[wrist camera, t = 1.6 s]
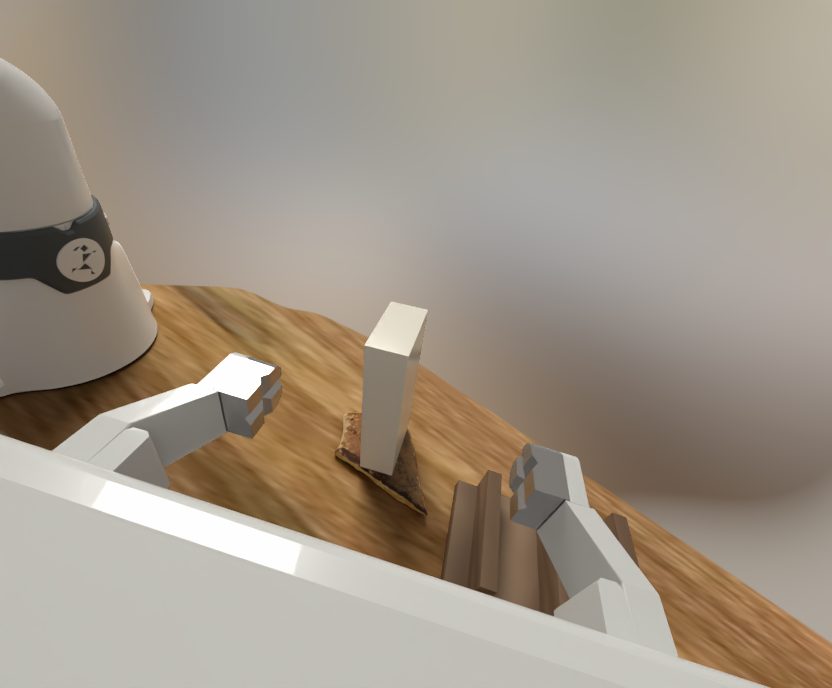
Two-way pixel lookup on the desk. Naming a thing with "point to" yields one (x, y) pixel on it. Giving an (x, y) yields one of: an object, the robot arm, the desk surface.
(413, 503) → the shard
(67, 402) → the desk surface
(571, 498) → the robot arm
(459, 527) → the drying rack
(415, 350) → the clay bar
